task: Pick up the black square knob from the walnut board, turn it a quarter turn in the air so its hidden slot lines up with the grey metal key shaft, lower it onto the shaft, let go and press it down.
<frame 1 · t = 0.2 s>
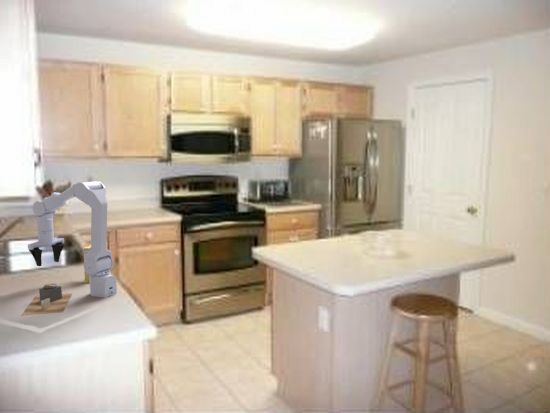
hand: (48, 263, 188), 10 cm above the countertop, tool pointing down, fingers open, 7 cm apart
parts board: (48, 306, 168), on the countertop
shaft: (46, 311, 164), resting on parts board
knob: (51, 299, 172), point 1 cm above the countertop, touching parts board
candy box: (93, 281, 200), on the countertop
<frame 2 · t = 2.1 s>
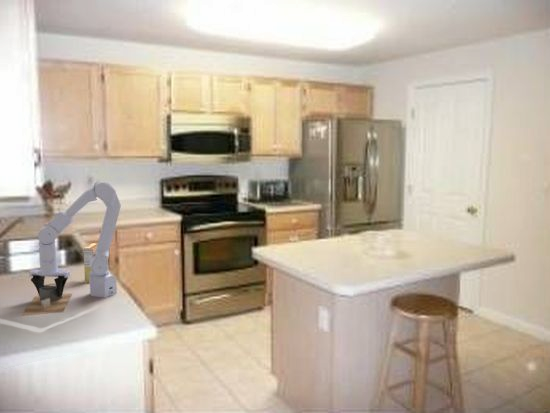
hand: (50, 295, 172), 3 cm above the countertop, tool pointing down, fingers closed on knob, 7 cm apart
knob: (51, 299, 172), point 1 cm above the countertop, touching gripper, parts board
everything else where it was.
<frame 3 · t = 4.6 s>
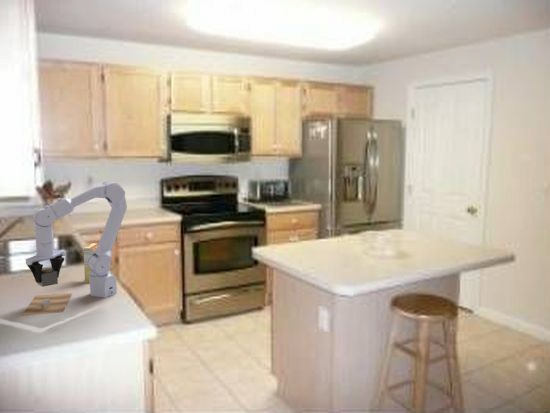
hand: (47, 279, 168), 10 cm above the countertop, tool pointing down, fingers closed on knob, 6 cm apart
knob: (47, 283, 168), point 8 cm above the countertop, touching gripper
everything else where it was.
when the fingers open (4 cm above the countertop, at t = 7.0 s): knob stays where it is, resting on parts board.
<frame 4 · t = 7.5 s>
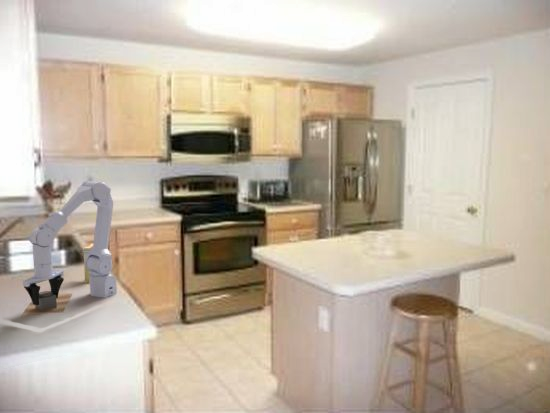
hand: (45, 301, 163), 4 cm above the countertop, tool pointing down, fingers open, 7 cm apart
knob: (46, 307, 164), point 1 cm above the countertop, touching parts board
everything else where it was.
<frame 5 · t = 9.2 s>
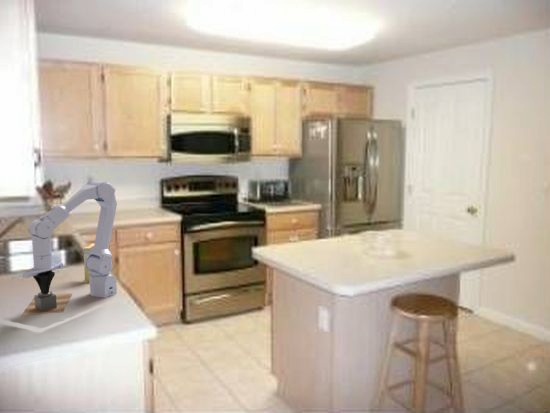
hand: (45, 293, 163), 7 cm above the countertop, tool pointing down, fingers closed, pressing on knob
knob: (46, 307, 164), point 1 cm above the countertop, touching gripper, parts board
everything else where it was.
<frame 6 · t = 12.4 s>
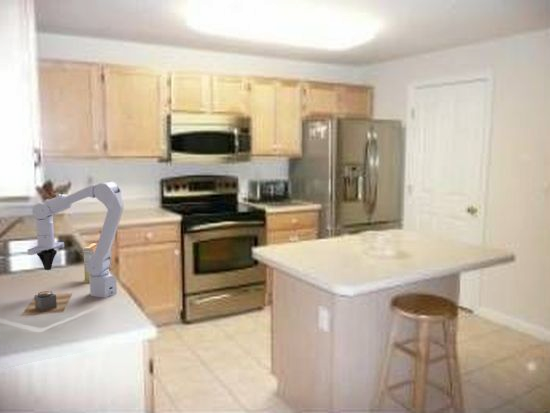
hand: (47, 269, 178), 10 cm above the countertop, tool pointing down, fingers closed
knob: (46, 307, 164), point 1 cm above the countertop, touching parts board
everything else where it was.
at the end: knob 0.0 cm off-centre on the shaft, point 1.2 cm above the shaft's base; knob tilted 0°; the gripper is holding nothing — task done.
